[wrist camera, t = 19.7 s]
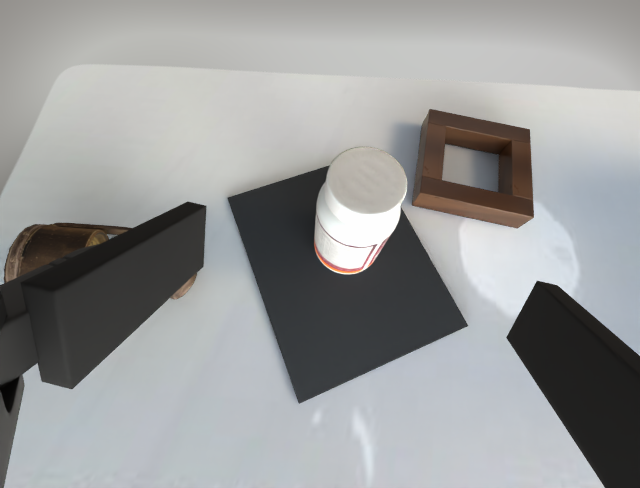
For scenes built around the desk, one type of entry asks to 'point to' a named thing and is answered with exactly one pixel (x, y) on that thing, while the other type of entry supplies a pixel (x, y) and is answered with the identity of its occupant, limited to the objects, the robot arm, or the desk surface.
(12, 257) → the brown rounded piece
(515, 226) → the holder
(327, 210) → the pill bottle
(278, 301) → the desk mat
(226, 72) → the desk surface
